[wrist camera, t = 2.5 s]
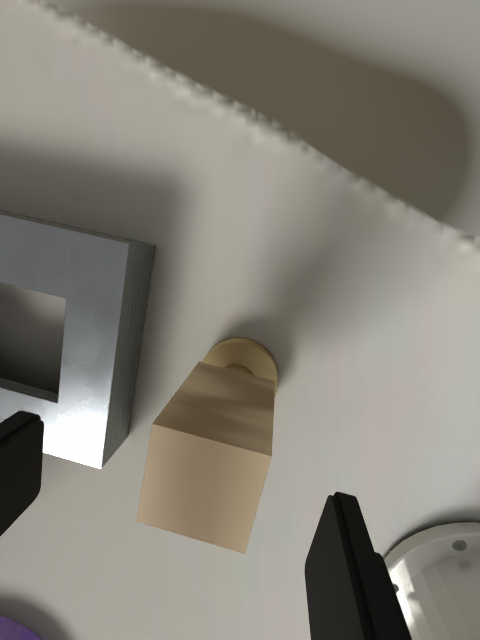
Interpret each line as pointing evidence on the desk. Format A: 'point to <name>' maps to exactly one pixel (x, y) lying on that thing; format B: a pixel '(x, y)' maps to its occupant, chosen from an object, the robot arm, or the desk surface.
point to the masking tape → (15, 631)
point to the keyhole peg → (213, 447)
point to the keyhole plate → (81, 331)
